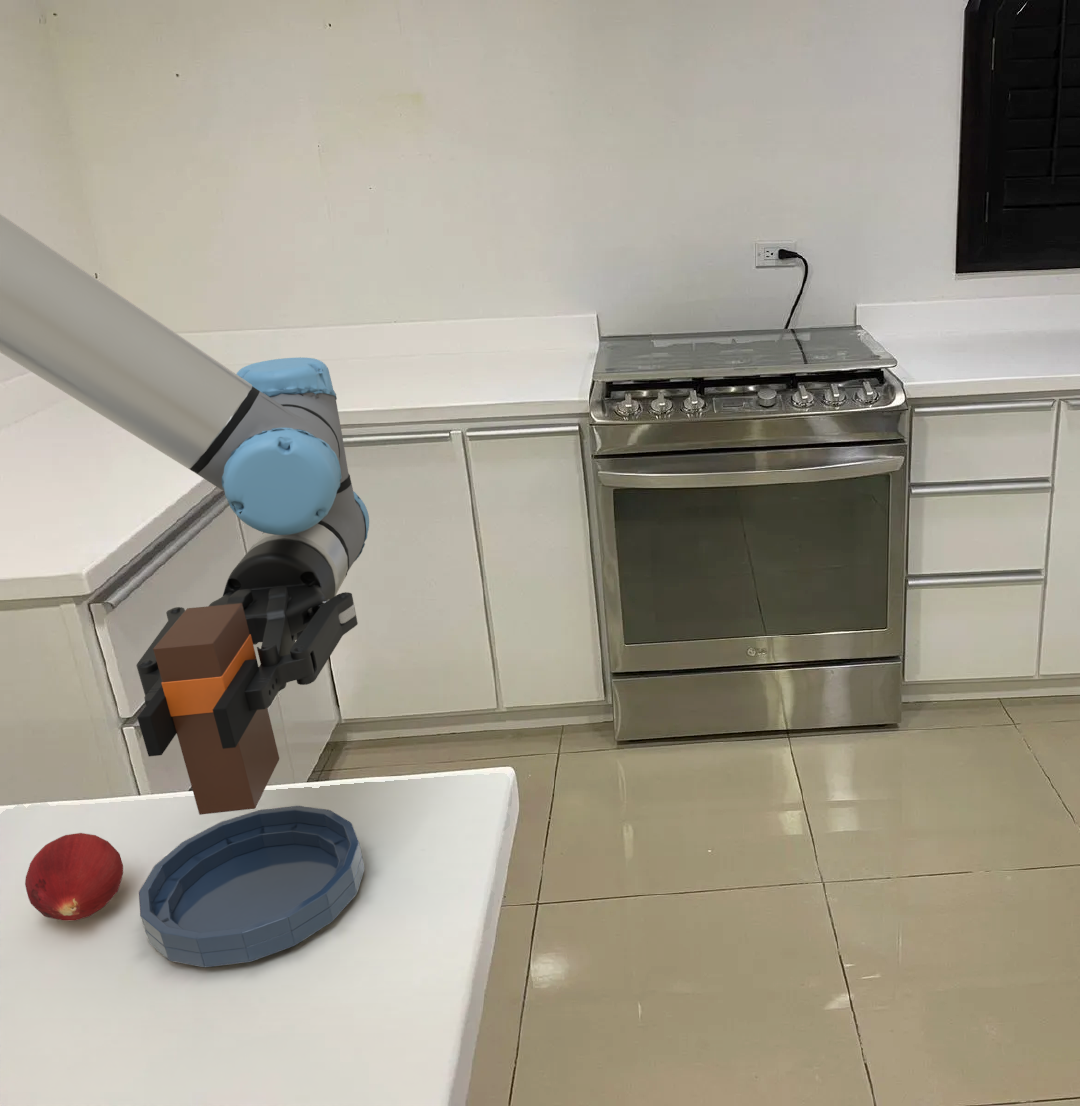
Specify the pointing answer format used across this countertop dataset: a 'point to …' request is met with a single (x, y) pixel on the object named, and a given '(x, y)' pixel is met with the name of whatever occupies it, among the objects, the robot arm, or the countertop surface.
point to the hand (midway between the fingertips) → (187, 732)
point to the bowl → (251, 886)
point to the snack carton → (193, 691)
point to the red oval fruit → (74, 876)
